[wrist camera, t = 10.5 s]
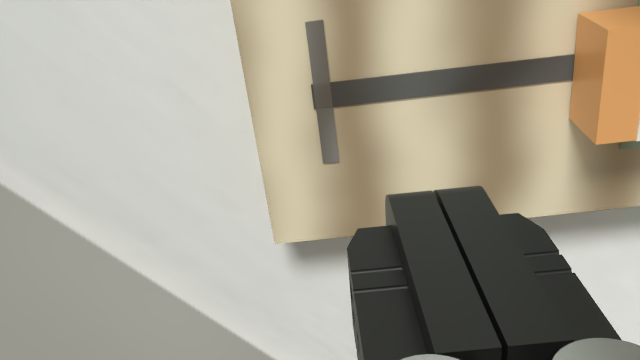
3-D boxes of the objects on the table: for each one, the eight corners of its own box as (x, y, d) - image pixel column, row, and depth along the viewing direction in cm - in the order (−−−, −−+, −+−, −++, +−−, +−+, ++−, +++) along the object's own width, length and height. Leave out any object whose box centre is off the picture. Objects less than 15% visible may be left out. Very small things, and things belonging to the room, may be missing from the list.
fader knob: (569, 118, 29) (596, 145, 26) (578, 13, 26) (609, 30, 24) (654, 108, 28) (691, 135, 26) (671, 2, 26) (713, 18, 23)
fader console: (277, 214, 35) (274, 245, 32) (225, -85, 27) (215, -79, 25) (665, 173, 34) (696, 201, 31) (721, -149, 26) (768, -151, 24)
